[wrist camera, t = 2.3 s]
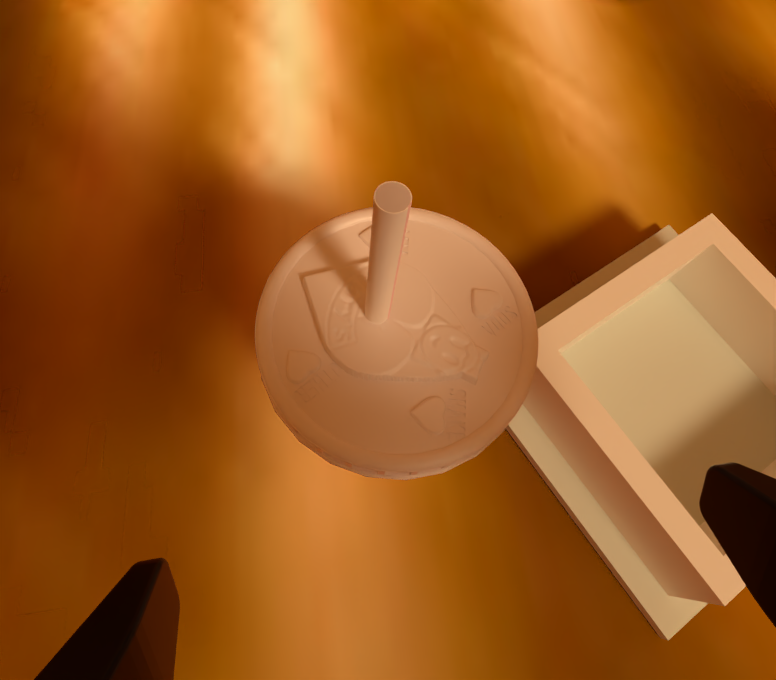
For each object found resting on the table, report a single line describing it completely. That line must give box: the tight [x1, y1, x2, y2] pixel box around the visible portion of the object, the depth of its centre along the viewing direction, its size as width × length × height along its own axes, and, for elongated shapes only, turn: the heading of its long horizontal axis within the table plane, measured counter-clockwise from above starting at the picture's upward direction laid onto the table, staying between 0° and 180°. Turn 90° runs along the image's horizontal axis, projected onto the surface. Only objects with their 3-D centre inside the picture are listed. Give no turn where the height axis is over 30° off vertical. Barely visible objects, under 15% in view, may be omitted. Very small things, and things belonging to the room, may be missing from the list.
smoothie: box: [255, 181, 538, 480], centre depth 14 cm, size 6×6×14 cm
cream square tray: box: [506, 213, 776, 640], centre depth 20 cm, size 12×12×4 cm
